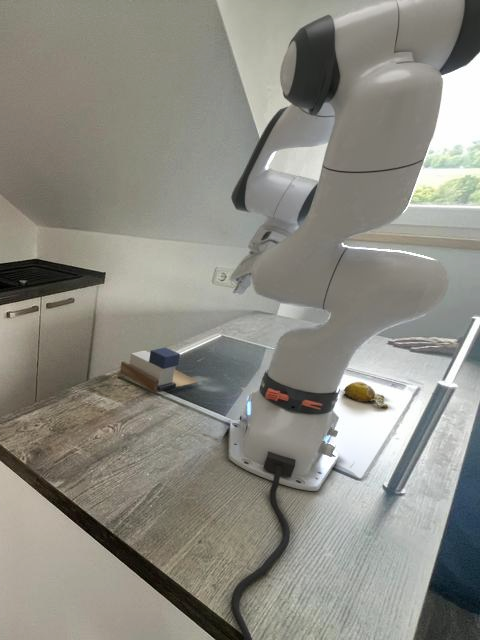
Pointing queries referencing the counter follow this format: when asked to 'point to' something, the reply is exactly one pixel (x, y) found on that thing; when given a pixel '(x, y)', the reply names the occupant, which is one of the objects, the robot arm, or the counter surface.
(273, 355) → the robot arm
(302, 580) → the counter surface
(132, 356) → the white block blue cap
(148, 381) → the shoe shelf
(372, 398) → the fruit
